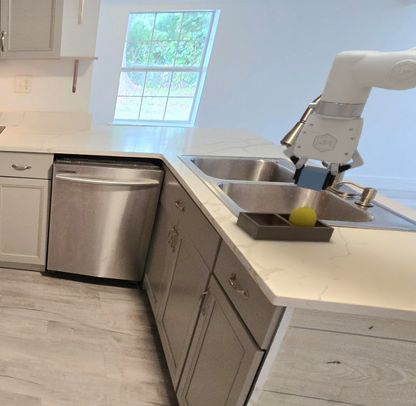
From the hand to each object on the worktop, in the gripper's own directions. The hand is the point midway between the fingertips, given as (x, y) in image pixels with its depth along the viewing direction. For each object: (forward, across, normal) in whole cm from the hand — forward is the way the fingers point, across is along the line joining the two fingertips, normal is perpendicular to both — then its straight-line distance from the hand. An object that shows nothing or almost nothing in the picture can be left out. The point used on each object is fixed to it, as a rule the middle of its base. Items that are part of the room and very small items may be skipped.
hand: (310, 185), depth 89 cm
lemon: (+17, 0, +11) cm, 20 cm away
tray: (+18, -4, +8) cm, 20 cm away
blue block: (0, 0, 0) cm, 0 cm away
